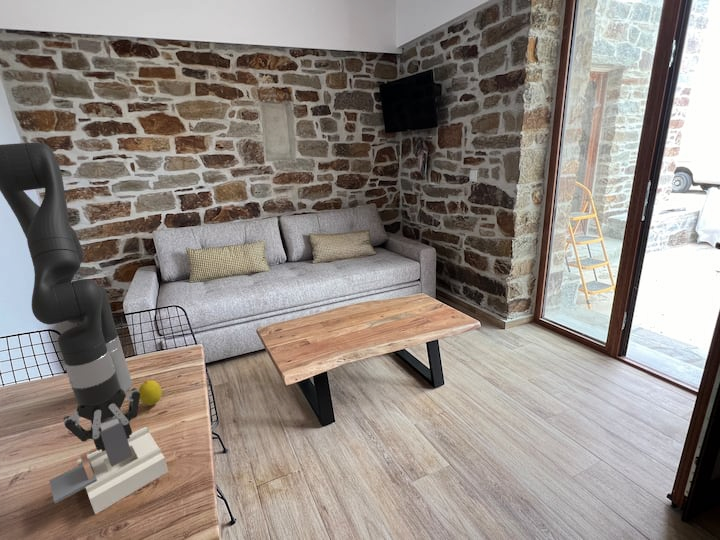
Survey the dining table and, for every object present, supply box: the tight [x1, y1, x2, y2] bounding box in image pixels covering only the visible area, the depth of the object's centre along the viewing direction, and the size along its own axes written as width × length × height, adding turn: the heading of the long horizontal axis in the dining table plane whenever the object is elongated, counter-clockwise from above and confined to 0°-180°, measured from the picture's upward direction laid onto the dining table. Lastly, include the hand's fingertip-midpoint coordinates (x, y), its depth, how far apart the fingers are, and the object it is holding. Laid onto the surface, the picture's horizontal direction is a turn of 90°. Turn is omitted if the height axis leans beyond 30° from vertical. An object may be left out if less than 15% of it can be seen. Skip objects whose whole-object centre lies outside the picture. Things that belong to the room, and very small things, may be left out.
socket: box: [77, 426, 169, 515], centre depth 83 cm, size 14×14×5 cm
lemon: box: [138, 379, 163, 406], centre depth 105 cm, size 6×6×8 cm
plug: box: [99, 416, 132, 467], centre depth 80 cm, size 4×4×10 cm
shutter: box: [49, 452, 97, 505], centre depth 76 cm, size 7×7×4 cm
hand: (115, 442), depth 81 cm, fingers closed on plug, 4 cm apart
